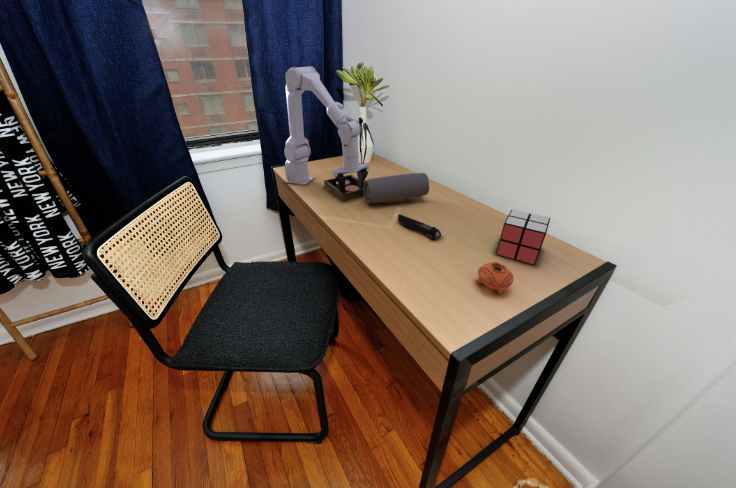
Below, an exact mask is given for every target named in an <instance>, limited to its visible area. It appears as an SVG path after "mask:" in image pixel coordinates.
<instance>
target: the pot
mask: <svg viewBox="0 0 736 488" xmlns="http://www.w3.org/2000/svg"><path fill="white" fill-rule="evenodd" d="M477 275H478V281H477V282H478V284H479V285H481V284H482V283H483V284H484V285H485V286H487V287H489V288H490V289H495V290H496V291H497V294H502V293H503V291H504V290H505V289H506V288H508V287H510V286H512V284H513V283H514V281H515V277H514V275H513V272H512V271H511V270H510V268H508V267H507V266H506V265H505V264H502V263H500V262H497V261H493V262H487V263H484V264H482V265H481V266H480V267H479V268H478V270H477Z"/></svg>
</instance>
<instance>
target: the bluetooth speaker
mask: <svg viewBox="0 0 736 488" xmlns="http://www.w3.org/2000/svg"><path fill="white" fill-rule="evenodd" d="M363 190H364V200H365V201H366V203H367V204H379V203H380V204H381V203H382V204H387V205H388V204H396V203H405V202H409V201H410V200H411V199H415V198H420V197H424V196H427V195H428V194H429V193H430V180H429V176H428V174H426V173H425V172H414V173H402V174H392V175H386V176H379V177H373V178H368V179H365V181H364V187H363Z"/></svg>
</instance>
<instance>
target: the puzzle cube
mask: <svg viewBox="0 0 736 488" xmlns="http://www.w3.org/2000/svg"><path fill="white" fill-rule="evenodd" d="M550 221H551V217H550V216H545V215H541V214H537V213H530V212H526V211H523V210H519V209H511V210H510V212H509V213H508V215H507V217H506V219H505V221H504V222H503V225H502V230H501V233H500V237H499V241H498V244H497V249H496V251H495V254H496V255H498V256H501V257H504V258H507V259H511V260H516V261H518V262H522V263H525V264H529V265H532V266H535V265H536V263H537V261H538V258H539V255H540V253H541V250H542V247H543V244H544V241H545V238H546V235H547V233H548V230H549V229H548V228H549V225H550Z"/></svg>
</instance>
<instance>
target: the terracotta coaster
mask: <svg viewBox="0 0 736 488" xmlns="http://www.w3.org/2000/svg"><path fill="white" fill-rule="evenodd" d="M355 190H359V187H358V186H354V185H351V186H347V187H345V193H347V192H351V191H355Z"/></svg>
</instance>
